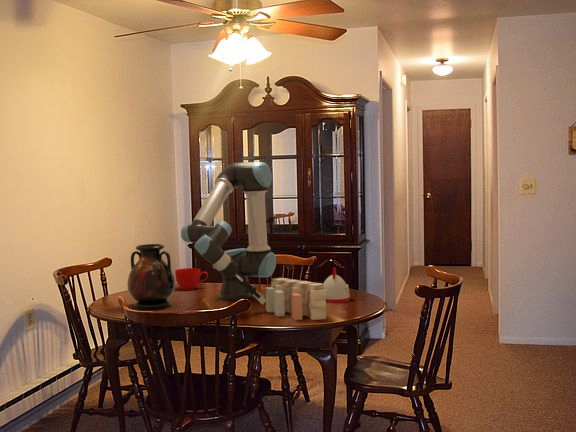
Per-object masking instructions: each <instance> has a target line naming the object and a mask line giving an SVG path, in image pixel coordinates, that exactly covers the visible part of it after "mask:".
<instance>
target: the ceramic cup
mask: <svg viewBox="0 0 576 432" xmlns="http://www.w3.org/2000/svg"><path fill="white" fill-rule="evenodd" d="M203 274H205V275H206V277H205V278H204V279H202V280H200V279H201V276H202V275H203ZM174 277H175V282H176V283H177V286H179V288H180V289H181V290H182V291H192V290H196V288H197V287H198V285H199V284H200V283H204V282H205V281H206V280H207V279H208V277H209V274H208V272H207V271H201V269H200V268H195V267H188V268H178V269H175V271H174Z"/></svg>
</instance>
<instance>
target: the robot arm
mask: <svg viewBox="0 0 576 432" xmlns="http://www.w3.org/2000/svg"><path fill="white" fill-rule="evenodd" d="M272 173H273V172H272V170H271V168H270V166H269V165H268V164H267V163H266V162H264V161H263V162H262V161H247V162H245V161H244V162H234V163H232V164H229V165H228V166H226V167H225V168H224V169H222V171H220V173H219V174H218V175H217V177H216V178H215V179H214V182H213V183H214V185H213V187H212V189H211V190H210V192H209V194H208V196H207V197H206V199H205V200H204V202H203V204H202V205H201V207H200V209H199V210H198V212H197V213H196V214H195V215H196V216H195V217H194V219H193V221H192V222H191V223H190V224H186V225H184V226H182V228H181V230H180V237H181V239H182V241H183V242H185V243H191V244H192V243H194V247H193V248H194V249H195V250H196V251H197V253H199V255H201V256H202V257H203V258H204V259H205V260H206V261H207V262H209V264H211V266H212V268H213V269H214V270H215V269H216V270H217V271H218V272H219V273H220V274H221V275H222V284H221V287H220V291H219V298H220V299H223V300H231V301H232V300H233V301H234V300H242V299H241V298H245V299H249V298H251V297H254V299H256V300H257V302H259V303H260V304H261V305H262V306H263V305H264V304H266V301H267V300H266V297H264V296H263V294H261V293H260V292H259V291H258V290H257V287H255V286H253V285H252V284H250V283H249V281H248V277H255V278H256V277H257V278H269V277H271V276H272V275H273V274H274V271H275V269H276V267H277V257H276V254H275V253H274V252H272V250H271V249H272V248H271V247H270V246H269V245H268V235H267V233H268V232H267V231H268V230H267V215H266V214H267V213H266V211H267V210H266V198H265V197H266V196H265V195H266V193H267V192H268V190H269V189H268V188H269V187H270V186H271V185H272V181H273V175H272ZM238 188H242V193H244V194H245V196H246V213H247V215H246V216H247V230H248V234H247V235H248V246H247V248H244V247H243V248H241V247H240V248H235V249H228V250H223V248H222V247H223V245H225V243H226V242H227V240H228V239H229V237H230V235H231V234H232V230H233V229H232V226H231V225H230V223H228V222H227V221H225V220H220V221H217V223H215V225H212V223H213V221H214V220H215V217H216V216H217V214H218V213H219V211H220V209H221V208H222V206H223V204H224V202H225V201H226V200H227V197H228V196H229V194H232V192H233V191H234V190H235V189H238Z"/></svg>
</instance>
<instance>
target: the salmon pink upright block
mask: <svg viewBox="0 0 576 432" xmlns="http://www.w3.org/2000/svg"><path fill="white" fill-rule="evenodd" d="M291 304H292V315H291V318H292V319H293V320H295V321H302V320H303V316H302V295H301V294H299V293H292V294H291Z"/></svg>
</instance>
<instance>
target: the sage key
mask: <svg viewBox="0 0 576 432" xmlns="http://www.w3.org/2000/svg"><path fill="white" fill-rule="evenodd" d="M274 291H275V289H274V288H273V287H271V286H267V287H266V286H265V293H264V294H265V299H266V300H267V301H266V302H265V310H266V312H267V313H275V308H274Z"/></svg>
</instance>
